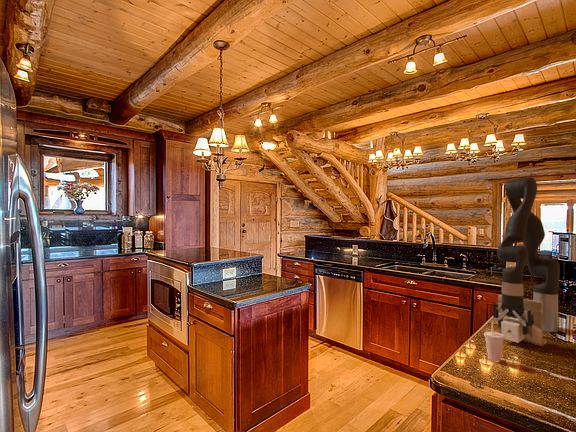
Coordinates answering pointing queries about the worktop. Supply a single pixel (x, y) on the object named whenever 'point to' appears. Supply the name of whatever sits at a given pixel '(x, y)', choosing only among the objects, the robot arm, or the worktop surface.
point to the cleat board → (533, 331)
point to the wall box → (512, 329)
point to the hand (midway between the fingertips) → (512, 331)
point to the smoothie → (494, 344)
